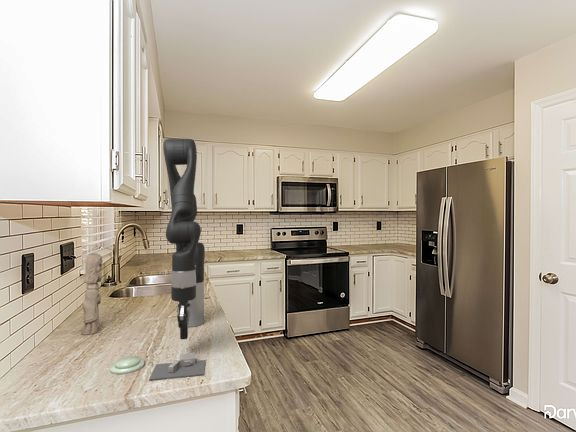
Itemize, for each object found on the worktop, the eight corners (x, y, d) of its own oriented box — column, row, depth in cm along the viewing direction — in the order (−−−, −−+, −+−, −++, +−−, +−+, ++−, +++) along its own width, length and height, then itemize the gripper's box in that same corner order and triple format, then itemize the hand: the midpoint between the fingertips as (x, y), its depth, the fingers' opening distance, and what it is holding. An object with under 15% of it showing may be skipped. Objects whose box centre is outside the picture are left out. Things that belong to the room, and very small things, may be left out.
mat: (156, 365, 93) (156, 364, 93) (205, 361, 96) (205, 359, 96) (149, 380, 84) (149, 379, 84) (203, 375, 87) (203, 373, 87)
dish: (115, 361, 96) (115, 355, 96) (147, 358, 97) (147, 352, 97) (104, 375, 87) (104, 369, 87) (140, 372, 89) (140, 366, 89)
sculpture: (102, 332, 120) (102, 253, 121) (80, 336, 117) (80, 254, 117) (102, 327, 127) (102, 251, 127) (81, 330, 123) (82, 252, 124)
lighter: (194, 352, 97) (195, 363, 89) (194, 358, 97) (195, 369, 89) (169, 355, 95) (168, 367, 87) (169, 361, 94) (168, 373, 87)
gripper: (174, 280, 107) (174, 332, 107) (167, 289, 94) (168, 347, 94) (197, 279, 109) (197, 330, 108) (194, 288, 96) (194, 345, 96)
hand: (184, 338), depth 101 cm, fingers closed
